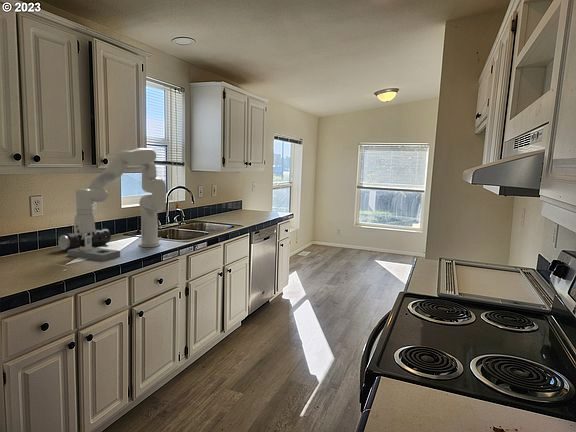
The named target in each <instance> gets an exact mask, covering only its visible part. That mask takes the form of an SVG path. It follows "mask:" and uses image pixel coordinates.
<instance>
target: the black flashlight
mask: <svg viewBox="0 0 576 432" xmlns="http://www.w3.org/2000/svg"><path fill="white" fill-rule="evenodd" d="M73 234H74V232H68V233H64V234H62V235H60V236H59V237H58V240H57V243H58V247H59V248H60V250H63V251H67V250H71V249H75V248H80V246H79V239H78V238H77V237H76V236H75V235H73ZM89 234H90V233H89ZM84 235H87V233H85V234H84ZM111 235H112V234H111V231H110V230H109V229H108V228H100V229H96V232H95V233H94V235H93V237H92V247H95V246H96V247H99V246H104V245H107V244H108V243H109V242H110V241H111V238H112V236H111Z"/></svg>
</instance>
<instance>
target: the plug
mask: <svg viewBox="0 0 576 432" xmlns="http://www.w3.org/2000/svg"><path fill="white" fill-rule="evenodd" d="M84 239H85V247H81V246H80V250H83V251H87V250H91V249H92V247H93V246H92V240H91V235H84Z"/></svg>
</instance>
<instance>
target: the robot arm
mask: <svg viewBox="0 0 576 432" xmlns="http://www.w3.org/2000/svg"><path fill="white" fill-rule="evenodd" d="M156 159H157V152H156V151H155V150H154V149H152V148H149V147H148V148H146V147H137V148H134V149H133V150H120V151H117V153H116V154H115V156H114V157H113V159H112V160H111V162H110V163H109V164H108V166H107V167H106V169H105V170H103V171H102V172H100V174H98V175H97V176H96V177H95V178H93V180H91V182H90V183H89V185H88V186H87V188H78V189H76V191H75V203H76V204H75V205H76V208H75V209H76V210H75V211H76V214H75V215H74V219H73V221H74V222H73V231H74V232H73V233H74V234H73V235H75V236H76V237H77V238H78V239H79V246H81V247H85V239H84V234H85V233H87V235H91V240H92V237H93V235H94V233H95V232H96V230H97V229H96V221H95V217H94V214H93V212H94V209H93V203H104V202H106V201H107V200H108V199H109V195H110V194H109V192H108V191H107V190H106V189H105V188H106V186H108V185H109V184H111V183H114V182H116V181H118V180H120V179H121V177H122V175H124V173H125V171H126V170H127V168H128V167H129V166H130V167H133V166H140V169H141V188H142V190H143V192H145V193H147V194H145V195H143V196H141V198H140V199H139V204H138V205H139V209H140V221H141V222H140V229H141V230H140V231H141V232H140V233H141V239H140V241H141V242H139V243H138V247H141V248H155V247H160V246H161V243H160V241H162V240H163V239H162V237H161V236H160V237H158V213H159V212H162V211H163V210H165V208H166V204H167V186H166V183H165V180H163V179H162V178H160V177H157V176H158V175H157V174H158V173H157V167H156V164H155V161H156ZM157 212H158V213H157ZM89 233H90V234H89Z"/></svg>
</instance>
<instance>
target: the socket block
mask: <svg viewBox="0 0 576 432" xmlns="http://www.w3.org/2000/svg"><path fill="white" fill-rule="evenodd" d="M66 251H67V256H68V257H74V258H81V259H86V260H93V261H99V262H105V261H108V260H112V259H116V258H119V257H121V251H120V250H116V249H108V248H102V247H97V246H96V247H95V246H92V249H91V250H87V251H83V250H80V248H75V249H71V250H66Z"/></svg>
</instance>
